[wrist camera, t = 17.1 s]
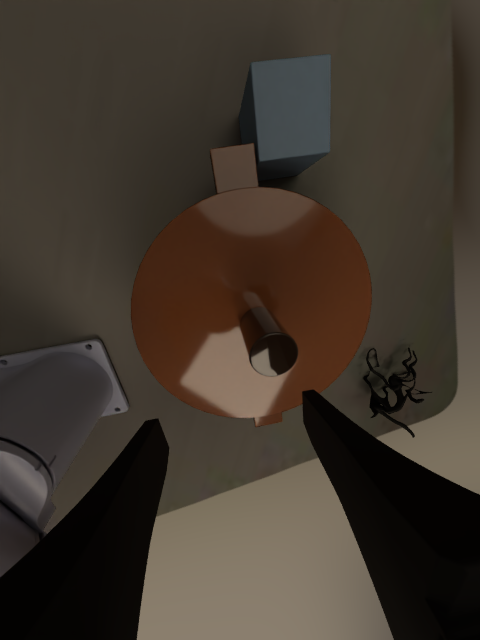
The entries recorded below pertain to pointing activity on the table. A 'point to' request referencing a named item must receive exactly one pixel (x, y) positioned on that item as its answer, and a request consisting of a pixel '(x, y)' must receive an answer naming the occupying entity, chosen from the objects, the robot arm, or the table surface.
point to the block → (287, 114)
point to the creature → (396, 386)
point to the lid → (251, 302)
